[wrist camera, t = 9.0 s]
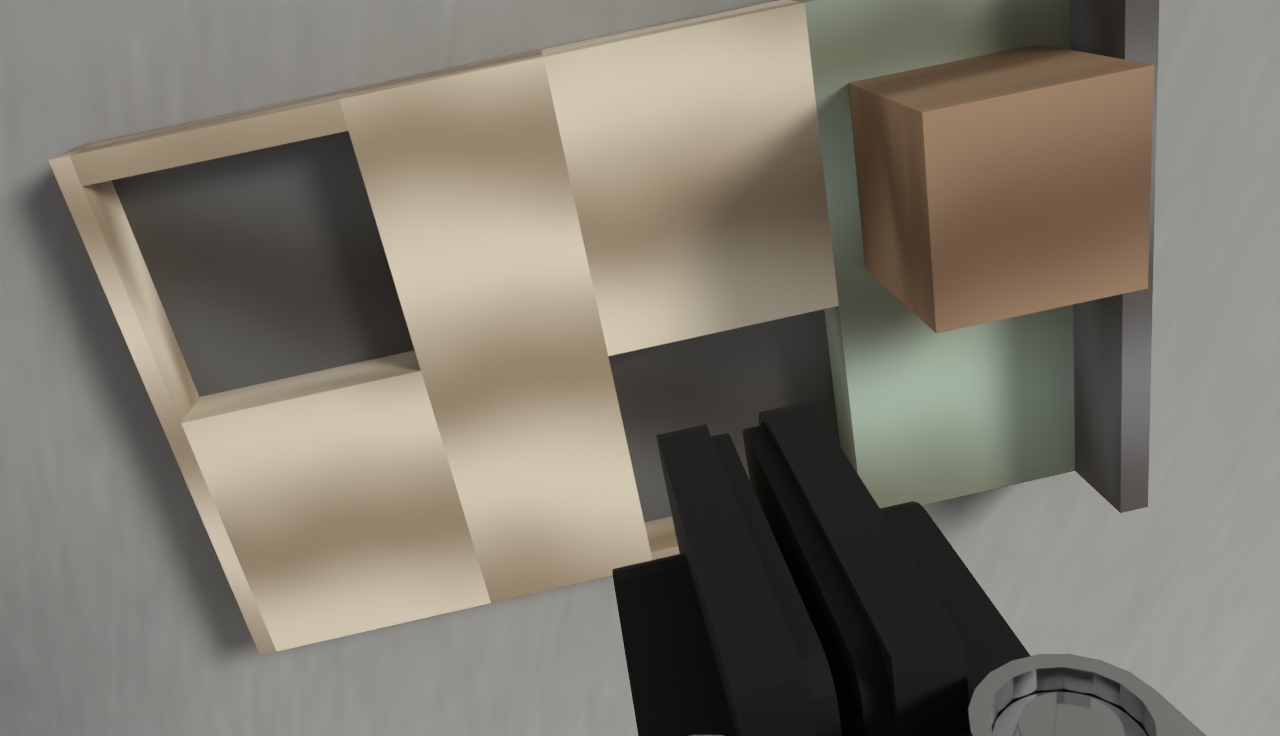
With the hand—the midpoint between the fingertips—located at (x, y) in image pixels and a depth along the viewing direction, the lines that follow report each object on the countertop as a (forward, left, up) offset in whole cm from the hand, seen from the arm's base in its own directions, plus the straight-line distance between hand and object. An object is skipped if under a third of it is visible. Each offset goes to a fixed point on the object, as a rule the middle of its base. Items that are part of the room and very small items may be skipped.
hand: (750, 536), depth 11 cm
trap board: (+4, 0, -18) cm, 19 cm away
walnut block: (+1, +9, -16) cm, 19 cm away
